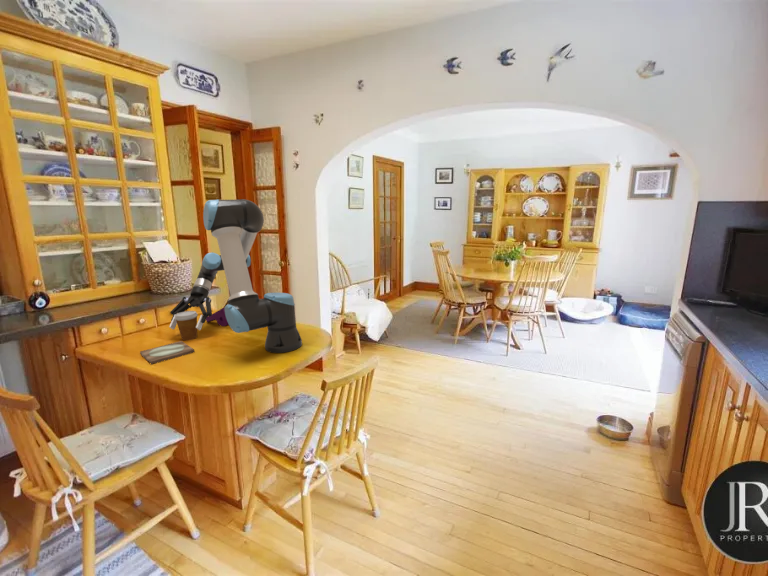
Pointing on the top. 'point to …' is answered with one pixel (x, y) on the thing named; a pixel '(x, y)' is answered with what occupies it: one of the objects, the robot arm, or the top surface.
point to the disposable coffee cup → (187, 324)
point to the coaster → (166, 352)
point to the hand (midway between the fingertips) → (184, 328)
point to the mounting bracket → (218, 317)
